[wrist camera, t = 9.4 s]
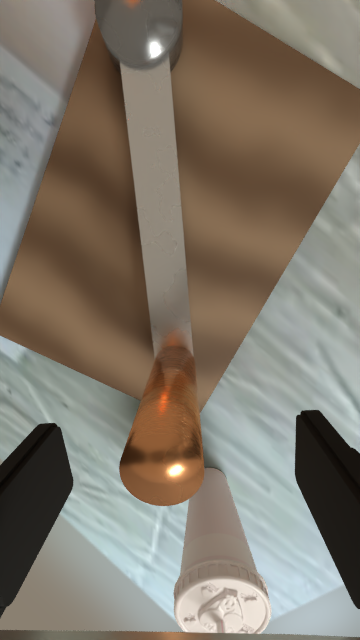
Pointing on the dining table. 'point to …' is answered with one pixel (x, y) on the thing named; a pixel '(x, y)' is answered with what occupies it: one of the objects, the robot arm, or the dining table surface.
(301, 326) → the dining table surface
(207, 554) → the smoothie
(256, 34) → the lever base
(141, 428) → the lever
